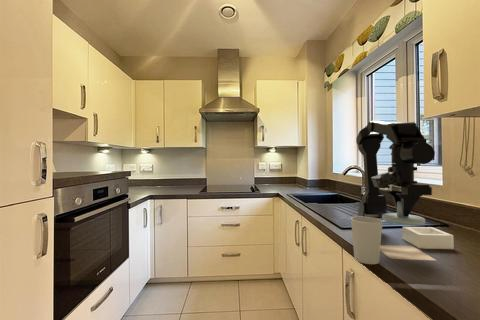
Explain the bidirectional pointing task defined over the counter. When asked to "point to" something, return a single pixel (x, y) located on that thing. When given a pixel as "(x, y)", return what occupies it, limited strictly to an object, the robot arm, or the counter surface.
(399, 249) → the mat
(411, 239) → the dish
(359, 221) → the cup
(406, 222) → the lid
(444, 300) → the counter surface
